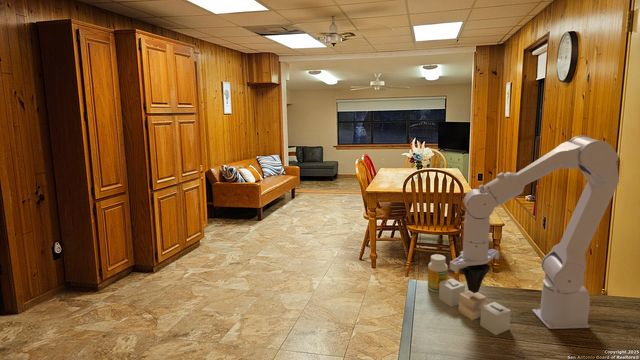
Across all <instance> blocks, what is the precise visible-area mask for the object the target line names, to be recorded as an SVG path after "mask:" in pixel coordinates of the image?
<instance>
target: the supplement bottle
mask: <svg viewBox="0 0 640 360" xmlns="http://www.w3.org/2000/svg"><path fill="white" fill-rule="evenodd" d="M446 258H447V257H446V256H445V255H442V254H439V253H435V254H432V255H430V262H429V263H428V265H427V289H428V290H430V291H431V292H432V293H438V294H439V286H440V282H442V281H445V280H448V279H449V278H448V276H449V275H448V274H449V273H448V272H449V266H448V264H447V263H446V260H447V259H446Z"/></svg>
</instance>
